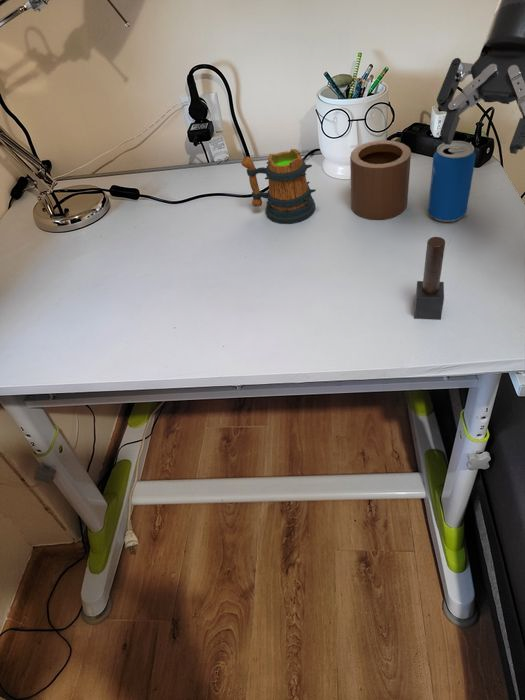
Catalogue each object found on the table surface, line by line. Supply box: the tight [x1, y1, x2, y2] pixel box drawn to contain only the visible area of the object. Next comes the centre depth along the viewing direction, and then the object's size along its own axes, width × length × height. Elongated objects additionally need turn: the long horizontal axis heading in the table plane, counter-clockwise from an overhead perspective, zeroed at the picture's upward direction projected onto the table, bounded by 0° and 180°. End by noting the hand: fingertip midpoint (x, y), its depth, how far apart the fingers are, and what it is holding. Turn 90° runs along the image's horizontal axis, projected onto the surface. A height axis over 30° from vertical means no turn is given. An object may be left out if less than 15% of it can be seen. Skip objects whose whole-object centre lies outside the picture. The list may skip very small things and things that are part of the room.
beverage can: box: [427, 140, 477, 223], centre depth 86 cm, size 6×6×12 cm
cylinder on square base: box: [414, 236, 446, 320], centre depth 70 cm, size 4×4×12 cm
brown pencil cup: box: [349, 139, 412, 221], centre depth 91 cm, size 10×10×10 cm
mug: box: [240, 148, 317, 225], centre depth 94 cm, size 13×10×12 cm
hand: (478, 146), depth 66 cm, fingers open, 8 cm apart
